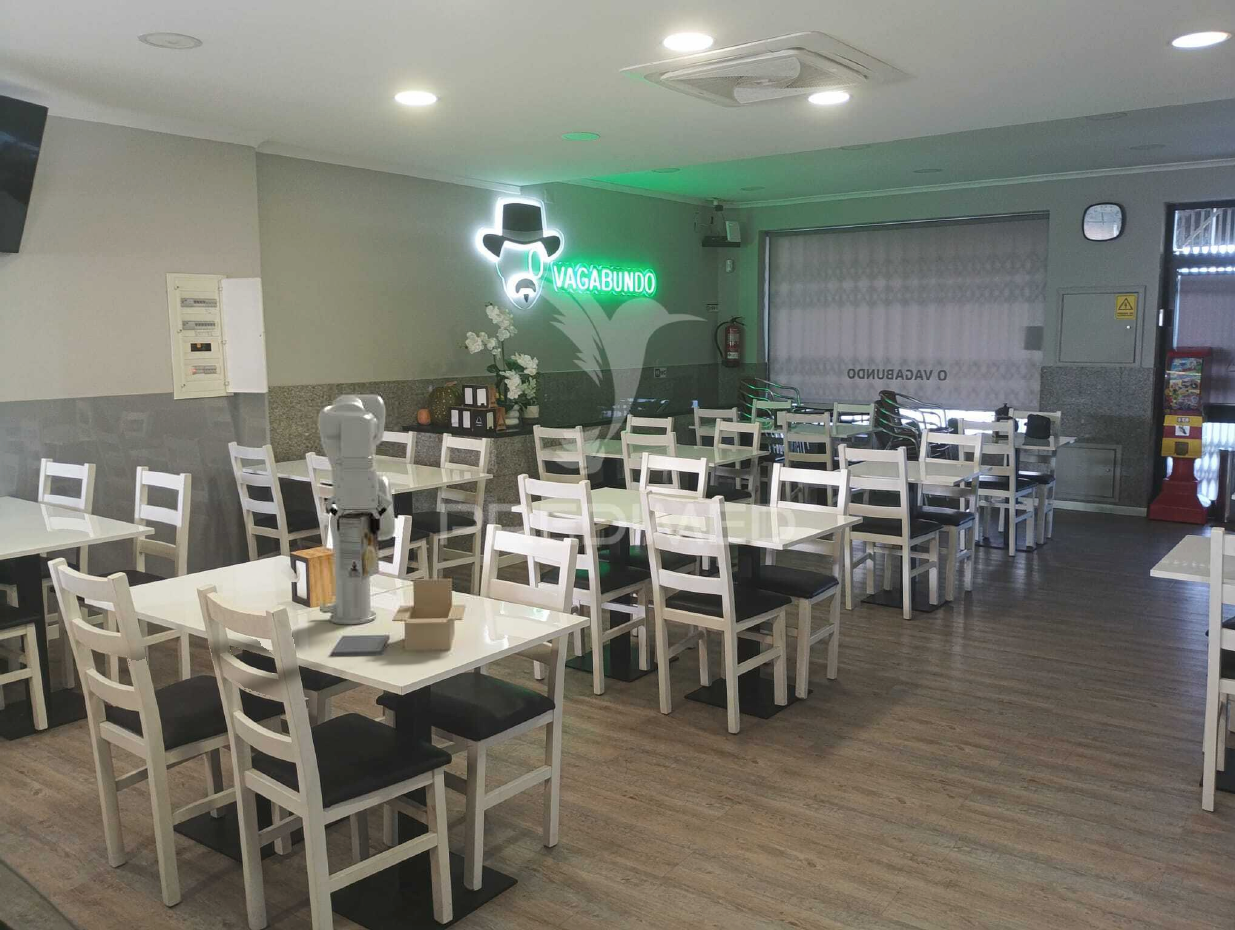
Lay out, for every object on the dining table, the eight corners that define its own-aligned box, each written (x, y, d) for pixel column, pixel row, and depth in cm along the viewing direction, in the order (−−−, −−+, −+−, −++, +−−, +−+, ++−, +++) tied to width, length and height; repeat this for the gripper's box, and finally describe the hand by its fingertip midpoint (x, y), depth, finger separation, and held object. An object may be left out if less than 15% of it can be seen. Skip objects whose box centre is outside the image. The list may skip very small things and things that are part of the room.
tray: (331, 655, 231) (331, 651, 231) (342, 639, 245) (342, 635, 245) (381, 654, 233) (381, 650, 232) (389, 638, 246) (389, 634, 246)
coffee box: (356, 571, 242) (355, 509, 240) (379, 573, 241) (378, 510, 239) (339, 579, 233) (337, 515, 231) (363, 581, 232) (361, 516, 230)
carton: (390, 654, 233) (389, 595, 231) (400, 635, 250) (399, 579, 248) (461, 653, 234) (460, 594, 233) (466, 633, 251) (465, 578, 250)
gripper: (318, 465, 230) (319, 536, 231) (390, 465, 231) (392, 536, 233) (324, 462, 237) (326, 531, 239) (395, 462, 239) (396, 530, 240)
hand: (358, 533), depth 236 cm, fingers closed on coffee box, 7 cm apart
